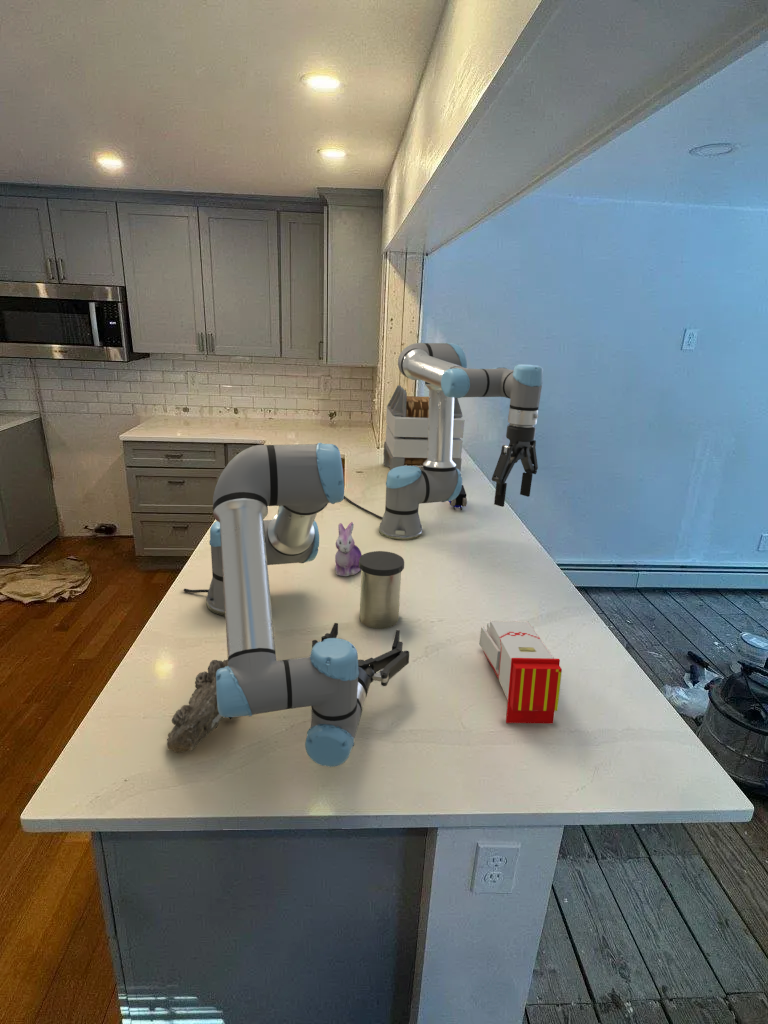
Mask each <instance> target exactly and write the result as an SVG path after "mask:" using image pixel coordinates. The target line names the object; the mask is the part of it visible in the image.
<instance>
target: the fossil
mask: <svg viewBox="0 0 768 1024" xmlns="http://www.w3.org/2000/svg"><path fill="white" fill-rule="evenodd" d="M227 665H228V658H226V659H224V660H223V661H222V660H217V659H212V660H211V661H210V663H209V665H208V666H207V671H201V672H199V673H198V674H197V675H196V676H195V680H194V684H195V685H194V687H195V689H194V690H193V693H192V694H191V697H190V698H189V700H188V704H184V705H182V706H181V707H180V709H177V710H176V711H175V713H174V715H173V716H172V718H171V723H172V724H173V727H172V730H171V731H170V732H168V734H167V738H166V741H167V742H166V745H167V749H168V750H169V751H173V752H174V753H176V754H178V753H182V752H188V751H189V752H192V751H193V750H195V748H196V747H197V746H199V744H200V743H201V742H203V741H204V740H205V739H206V738H207V737H208V736H209V735H210V734H211V733H212V732H214V730H215V729H217V727H218V726H219V724H220V722H221V721H222V720H223V719H224V718H225V717H223V716H221V715H220V714H219V712H218V707H217V691H216V672H217V670H218V669H220V668H224V667H225V666H227ZM227 719H229V720H233V717H227Z"/></svg>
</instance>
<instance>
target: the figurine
mask: <svg viewBox="0 0 768 1024" xmlns="http://www.w3.org/2000/svg"><path fill="white" fill-rule="evenodd" d="M354 525H355V523H354V522H353V521H351V522H349V524H348V525H347V526H346V528H345V527H344V525H343V523H342V522H339V523H338V529H337V530H338V536H337V538H336V541H335V548H336V549H337V551H336V553H335V554H334V555H335V557H334V563H335V566H334V571H335V574H336V575H337V576H341V577H349V576H353V575H356V574H358V573H359V572H361V569H360V568H359V558H360V557H361V556H362V555H363V554H362V551H361V550H360V548H359V546H357V545H356V544H355V540H354V538H353V536H352V534H353V531H354Z"/></svg>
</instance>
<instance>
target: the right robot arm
mask: <svg viewBox="0 0 768 1024" xmlns="http://www.w3.org/2000/svg"><path fill="white" fill-rule="evenodd" d="M397 367H398V370H399V372H400V373H401V374H402V375H403V376H404V377H405V378H407V379H410V380H412V381H419V380H420V381H423V382H424V386H425V387H426V388H427V389H428V397H429V418H428V454H427V460H426V461H425V462H424V463H423V466H422V469H421V467H420V466H407V465H404V466H399V467H396V468H393V469H391V470H390V469H389V470H388V472H387V475H386V480H385V504H384V505H385V507H384V508H385V509H384V513H383V515H382V516H380V515H378V514H376V513H374V512H372V511H370V510H368V509H366V508H365V507H363V506H361V505H359V504H357V503H355V502H354V501H352V500H351V499H349V498H348V497H347V496H345V495H344V498H343V499H344V500H346V501H347V502H348V503H350V504H352V505H353V506H354V507H357V508H358V509H360V510H361V511H364V512H366V513H368V514H370V515H372V516H374V517H376V518H378V519H380V520H381V522H379V526H378V533H379V534H380V535H381V536H382V537H385V538H387V539H389V540H395V541H410V540H415V539H418V538H420V537H421V536H422V535H423V525H422V524H421V518H420V515H419V507H420V506H419V505H420V504H421V505H422V504H433V503H446V502H449V501H451V500H454V499H455V498H456V497H457V496H458V495H459V493H460V491H461V487H462V485H463V477H462V473H460V471H459V470H458V469H457V468H456V464H455V463H454V462H453V461H452V444H453V418H454V398H458V399H460V398H462V399H463V398H506V399H509V400H510V401H509V407H508V408H509V409H508V414H507V415H508V416H507V423H508V424H507V426H506V434H505V437H506V439H508V440H509V443H508V445H506V444H503V445H502V446H501V449H500V455H499V457H498V460H497V463H496V465H495V468H494V471H493V474H492V477H491V481H492V482H495V494H494V500H493V505H494V506H498V507H502V508H504V507H505V503H506V495H507V486H508V483H507V482H506V481H507V479H508V478H509V476H510V474H511V472H512V470H513V468H514V466H515V464H517V463H518V462H519V461H520V462H521V464H522V468H523V471H524V472H522V476H521V484H520V491H519V495H520V496H524V497H528V498H529V497H530V495H531V489H532V481H533V475H536V474H537V473H538V469H539V465H538V458H537V457H538V455H537V449H536V444H537V441H536V439H535V438H536V432H537V427H536V425H537V423H538V418H539V408H540V401H541V395H542V389H543V384H544V381H543V380H544V368H543V367H542V366H540V365H535V364H524V363H523V364H516V365H515V366H514V368H513V369H509V368H507V367H498V366H497V367H493V368H468V360H467V356H466V353H465V351H464V349H463V348H462V347H461V345H459V344H456V343H450V342H449V343H448V342H415V343H411V344H409V345H407V346H406V347H404V348H403V349H402V351H400V353H399V356H398V358H397Z"/></svg>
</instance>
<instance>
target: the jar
mask: <svg viewBox="0 0 768 1024" xmlns="http://www.w3.org/2000/svg"><path fill="white" fill-rule="evenodd" d="M401 580H402V571H401V572H400V573H398V574H395V575H391V576H375V575H371V574H368V573H365V572H363V571H362V570H360V592H359V593H360V594H359V621H360V623H362V625H364V626H366V627H368V628H371V629H377V630H384V629H388V628H391V627H394V626H396V625H397V624H398V623H399V617H400V616H399V615H400V598H401Z"/></svg>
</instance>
